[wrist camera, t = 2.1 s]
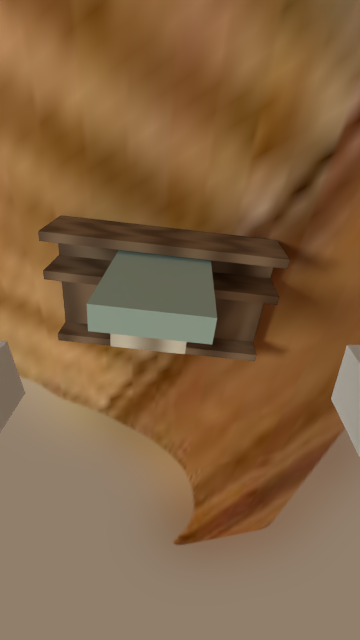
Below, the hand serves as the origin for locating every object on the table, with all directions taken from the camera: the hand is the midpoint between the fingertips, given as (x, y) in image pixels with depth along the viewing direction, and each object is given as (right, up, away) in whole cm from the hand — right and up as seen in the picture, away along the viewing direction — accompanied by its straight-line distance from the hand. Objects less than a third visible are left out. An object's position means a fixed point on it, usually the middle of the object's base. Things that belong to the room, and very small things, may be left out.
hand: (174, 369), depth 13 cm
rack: (-2, +7, +30) cm, 31 cm away
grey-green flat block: (-1, +10, +26) cm, 28 cm away
